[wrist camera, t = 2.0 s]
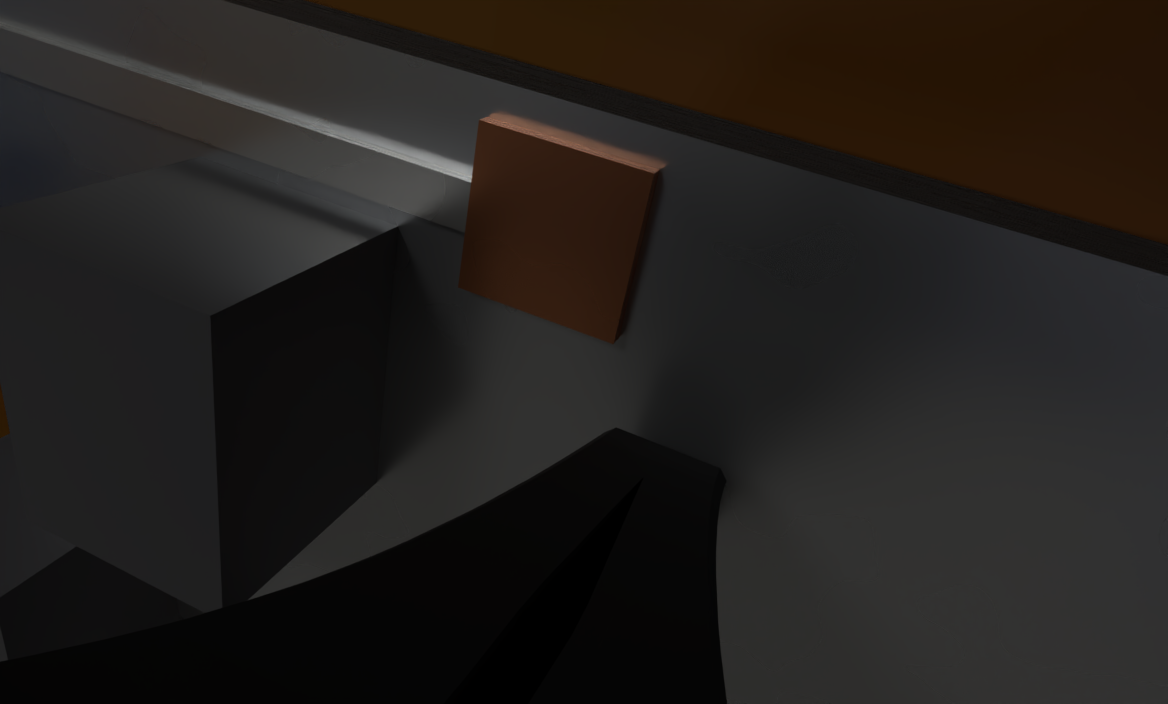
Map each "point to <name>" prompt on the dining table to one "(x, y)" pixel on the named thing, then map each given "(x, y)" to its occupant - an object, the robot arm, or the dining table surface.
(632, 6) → the dining table surface
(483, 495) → the breaker panel
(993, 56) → the dining table surface
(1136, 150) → the dining table surface
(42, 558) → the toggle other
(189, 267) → the dark grey cube box
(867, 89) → the dining table surface
